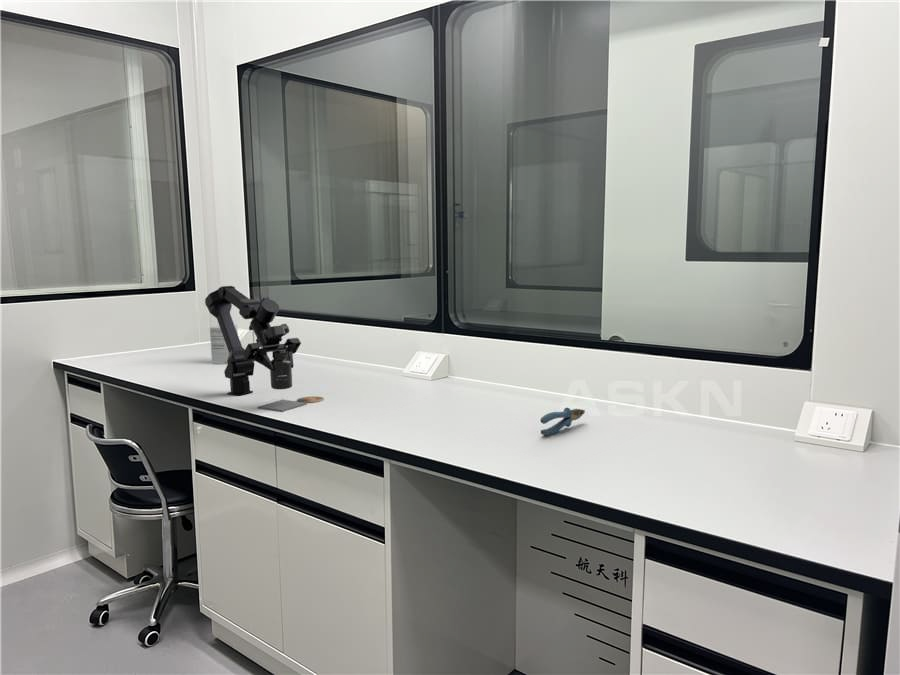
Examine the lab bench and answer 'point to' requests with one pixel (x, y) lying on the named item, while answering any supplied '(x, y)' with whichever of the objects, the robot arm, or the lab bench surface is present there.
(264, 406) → the charcoal mat
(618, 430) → the lab bench surface
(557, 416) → the pliers
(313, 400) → the walnut coaster
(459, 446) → the lab bench surface
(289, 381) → the supplement bottle
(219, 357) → the supplement box
